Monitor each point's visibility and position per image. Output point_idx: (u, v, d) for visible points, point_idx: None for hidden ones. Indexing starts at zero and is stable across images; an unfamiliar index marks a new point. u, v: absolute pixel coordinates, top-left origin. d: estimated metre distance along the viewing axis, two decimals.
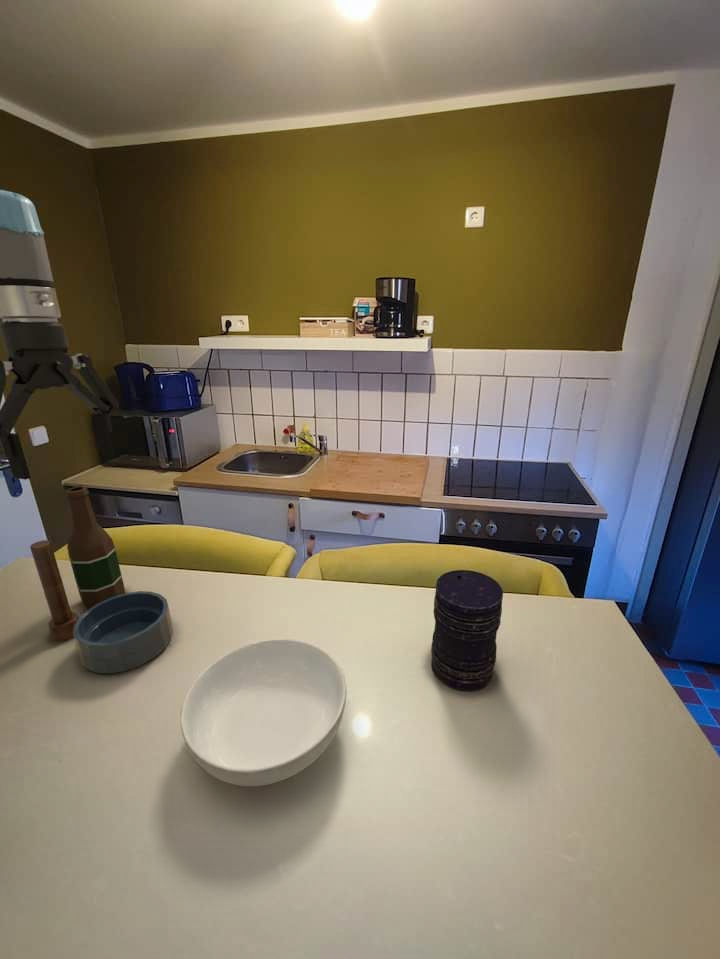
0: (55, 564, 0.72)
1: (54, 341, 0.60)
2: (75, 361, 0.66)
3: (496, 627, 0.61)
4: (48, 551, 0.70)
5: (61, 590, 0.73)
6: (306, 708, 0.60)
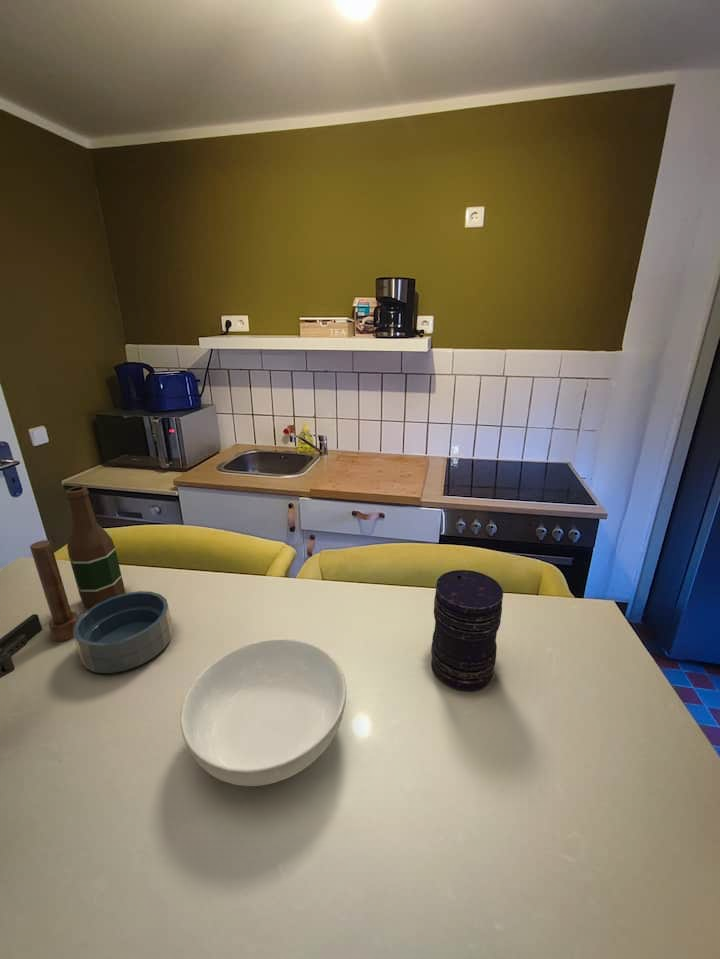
0: (55, 564, 0.72)
1: None
2: None
3: (496, 627, 0.61)
4: (48, 551, 0.70)
5: (61, 590, 0.73)
6: (306, 708, 0.60)
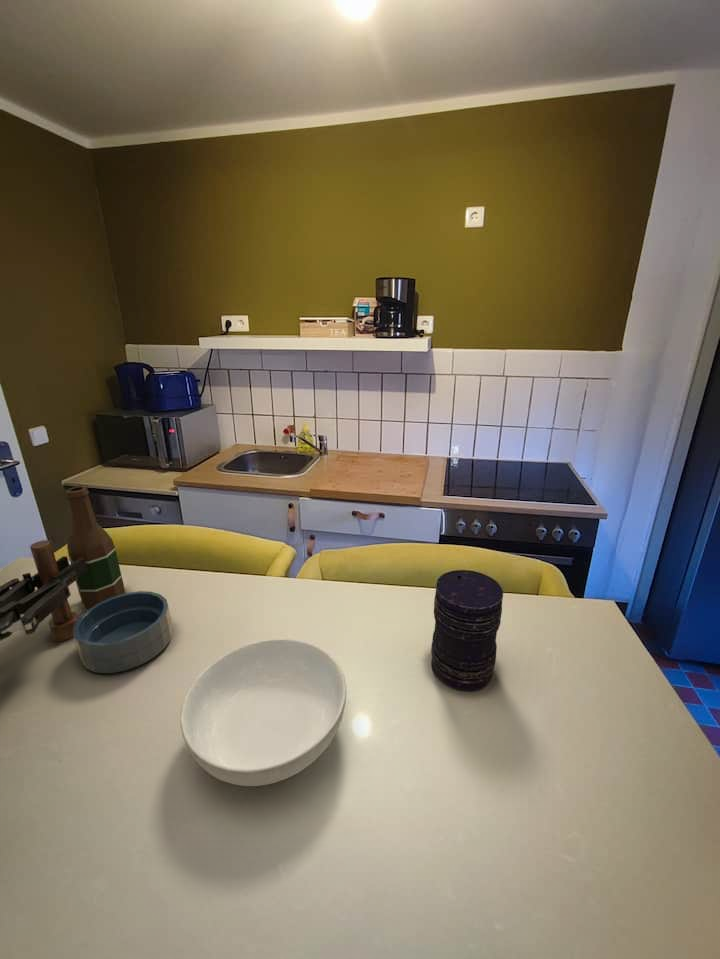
0: (55, 564, 0.72)
1: None
2: None
3: (496, 627, 0.61)
4: (48, 551, 0.70)
5: None
6: (306, 708, 0.60)
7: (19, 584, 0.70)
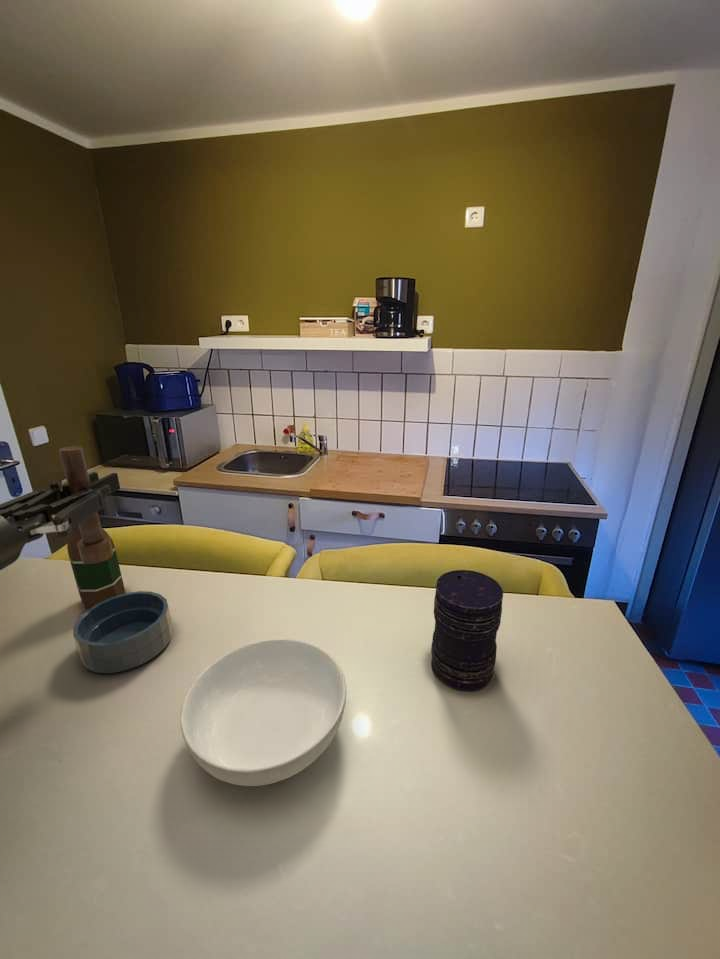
0: (86, 473, 0.64)
1: None
2: None
3: (496, 627, 0.61)
4: (79, 456, 0.62)
5: None
6: (306, 708, 0.60)
7: (46, 492, 0.61)
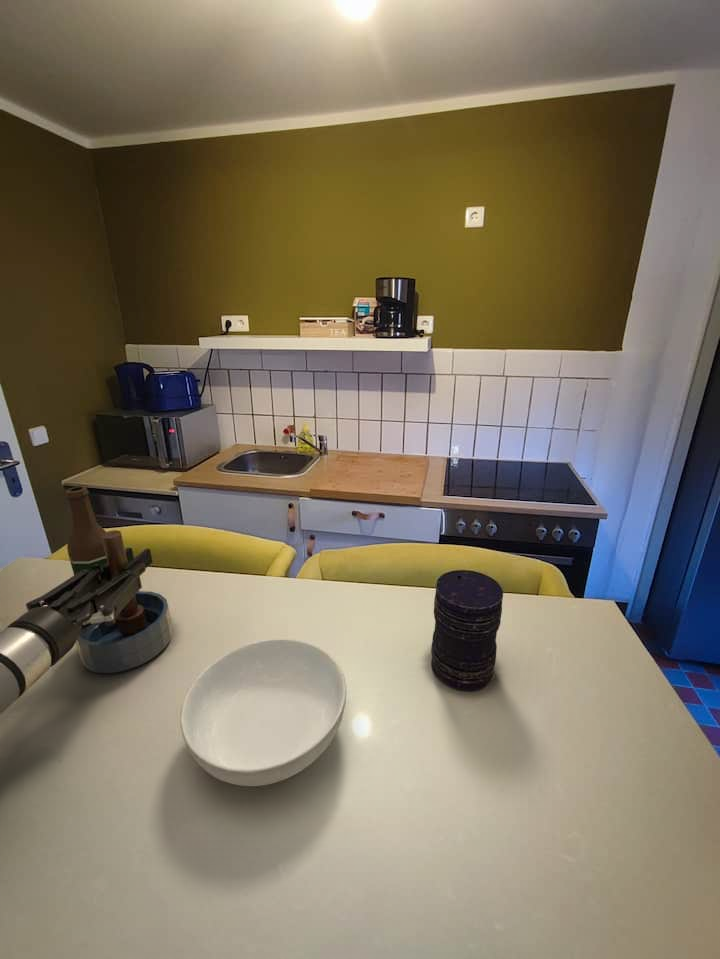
0: (125, 555, 0.70)
1: None
2: None
3: (496, 627, 0.61)
4: (119, 541, 0.69)
5: None
6: (306, 708, 0.60)
7: (90, 575, 0.68)
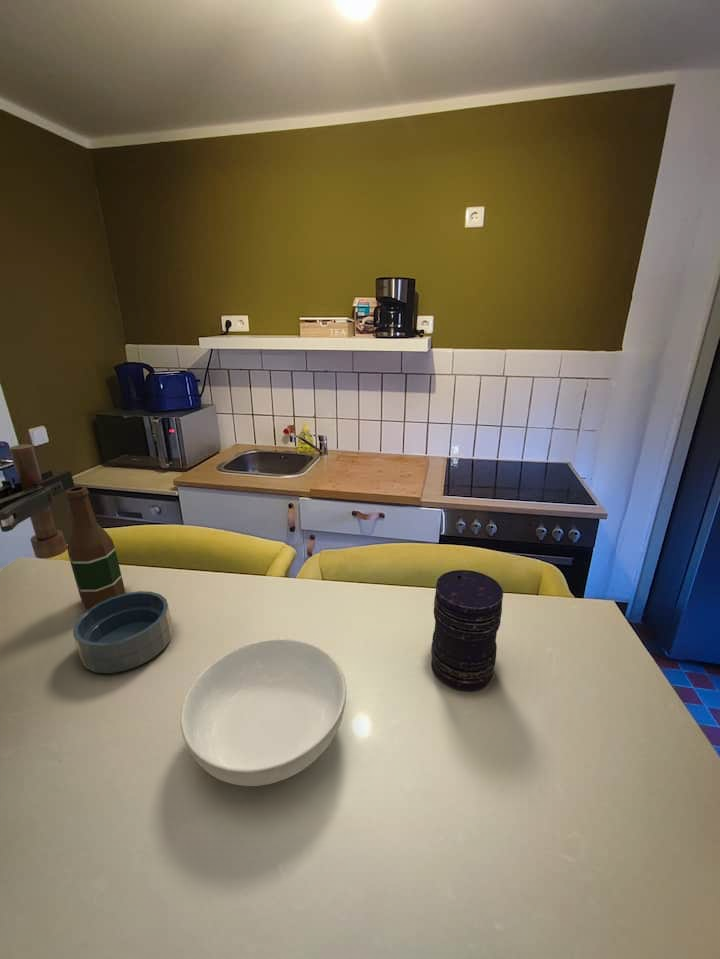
0: (37, 471, 0.66)
1: None
2: None
3: (496, 627, 0.61)
4: (29, 454, 0.64)
5: None
6: (306, 708, 0.60)
7: None
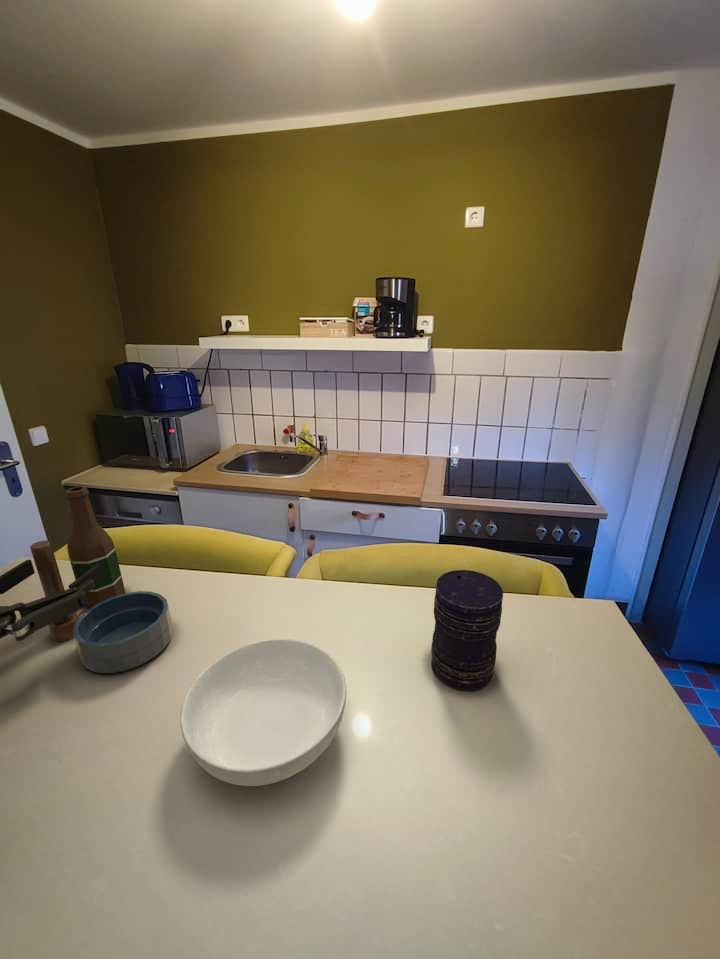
0: (55, 564, 0.72)
1: None
2: None
3: (496, 627, 0.61)
4: (48, 551, 0.70)
5: None
6: (306, 708, 0.60)
7: None
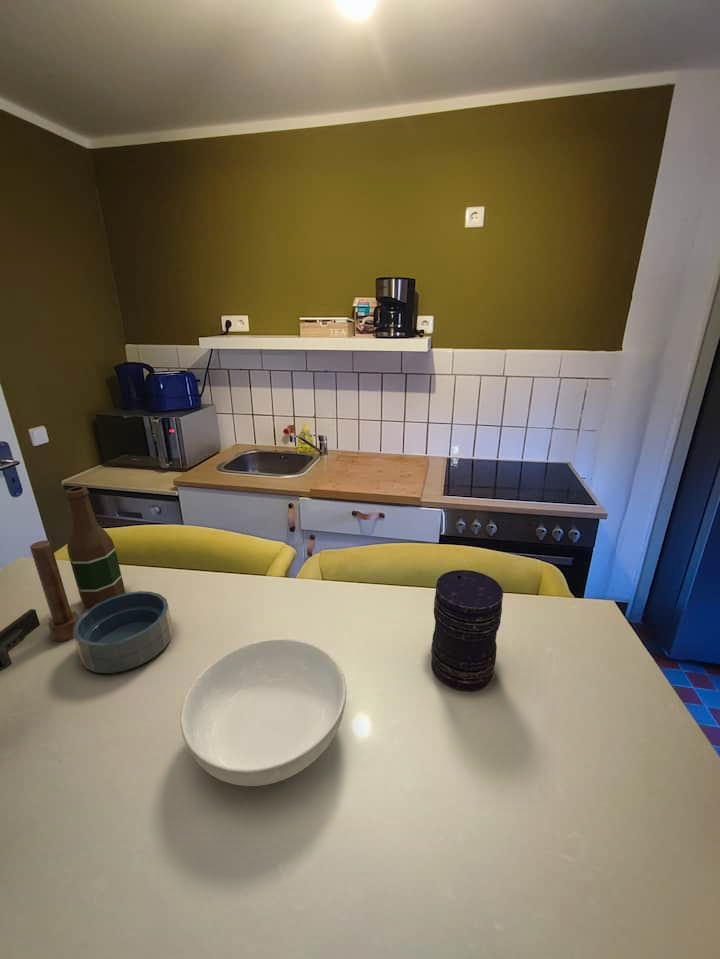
0: (55, 564, 0.72)
1: None
2: None
3: (496, 627, 0.61)
4: (48, 551, 0.70)
5: (61, 591, 0.73)
6: (306, 708, 0.60)
7: None
